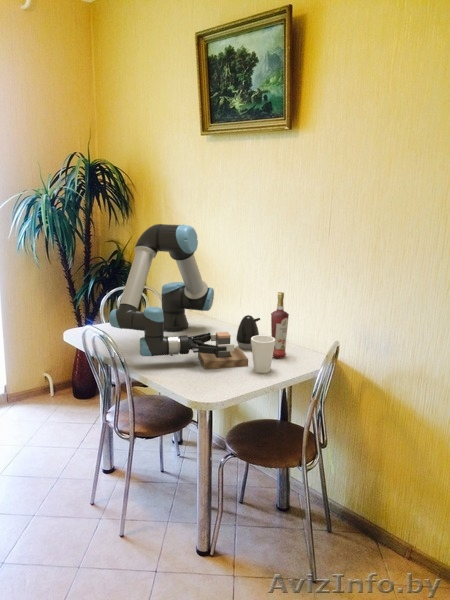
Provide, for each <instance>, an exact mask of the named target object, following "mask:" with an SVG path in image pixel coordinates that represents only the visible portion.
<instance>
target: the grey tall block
mask: <svg viewBox="0 0 450 600" xmlns="http://www.w3.org/2000/svg"><path fill="white" fill-rule="evenodd" d="M215 335H216V341H215V346H218V345H225V344H231V337H232V336H231V334H230V333H229V332H228V331H220V332H218V331H216V332H215ZM216 357H217V358H222V357H230V351H226V352H218V354H216Z"/></svg>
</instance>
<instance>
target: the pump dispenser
mask: <svg viewBox="0 0 450 600" xmlns="http://www.w3.org/2000/svg"><path fill="white" fill-rule="evenodd" d="M258 321H261V318H260V317H257V318H255V317H253V316H252V315H249V314H247V315H245V316H243V317H242V319H241V321H240V323H239V325H238V329H237V333H236V342H237V344H238V346H239V348H240V349H241V350H246V351H247V350H248V351H250V350H251V351H252V346H251V338H252V337H253V336H258V335H260V334H259V328H258V324H257V322H258Z"/></svg>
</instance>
